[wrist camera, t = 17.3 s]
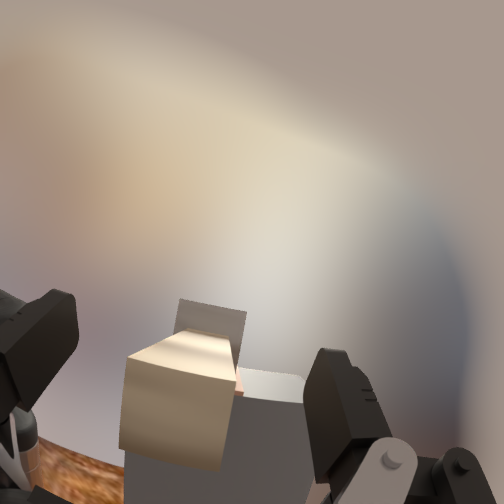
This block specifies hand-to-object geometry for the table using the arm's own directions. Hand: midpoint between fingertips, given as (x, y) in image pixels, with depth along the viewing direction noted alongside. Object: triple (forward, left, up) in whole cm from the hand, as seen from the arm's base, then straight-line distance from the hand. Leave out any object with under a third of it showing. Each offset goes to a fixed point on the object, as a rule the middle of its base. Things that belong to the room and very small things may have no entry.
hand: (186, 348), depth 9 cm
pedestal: (+9, +11, -36) cm, 38 cm away
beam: (+4, +7, -3) cm, 9 cm away
